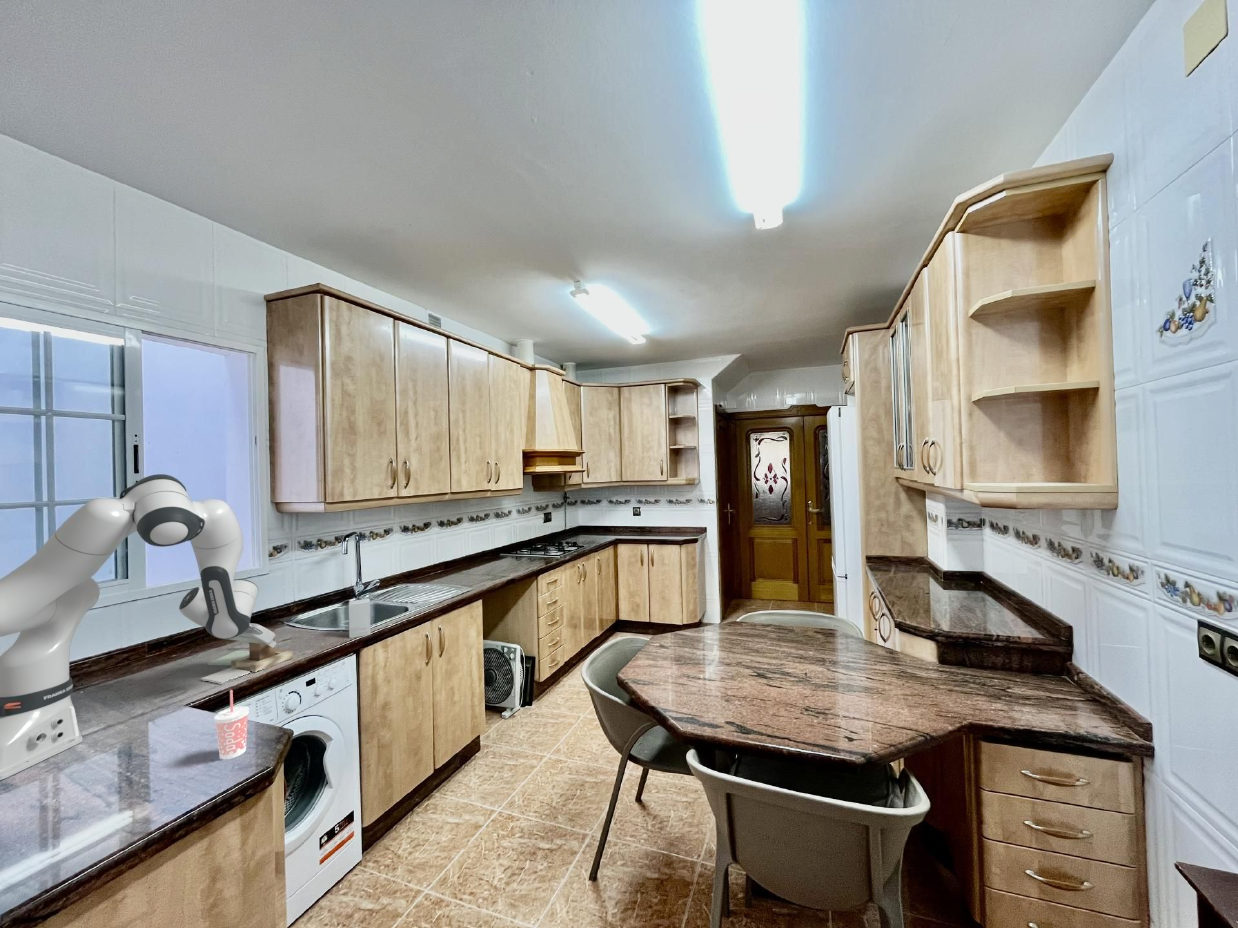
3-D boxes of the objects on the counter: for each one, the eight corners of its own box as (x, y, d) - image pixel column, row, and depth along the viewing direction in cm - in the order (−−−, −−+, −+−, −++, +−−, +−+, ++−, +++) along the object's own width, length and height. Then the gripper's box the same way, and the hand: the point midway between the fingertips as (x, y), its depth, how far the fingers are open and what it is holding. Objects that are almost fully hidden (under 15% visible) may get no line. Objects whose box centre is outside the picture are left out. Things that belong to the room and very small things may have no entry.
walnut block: (259, 667, 158) (258, 633, 158) (249, 665, 160) (248, 632, 160) (275, 661, 163) (274, 628, 163) (265, 660, 165) (264, 627, 165)
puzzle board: (223, 685, 145) (223, 676, 145) (198, 680, 149) (198, 672, 149) (293, 658, 165) (292, 651, 165) (269, 655, 169) (269, 647, 169)
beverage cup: (209, 763, 104) (207, 698, 104) (223, 748, 110) (221, 686, 110) (242, 758, 106) (240, 693, 106) (255, 743, 112) (253, 682, 112)
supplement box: (370, 634, 187) (369, 601, 187) (348, 638, 184) (347, 605, 184) (370, 629, 194) (369, 597, 194) (349, 633, 190) (348, 600, 190)
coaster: (237, 665, 161) (237, 662, 161) (207, 665, 162) (207, 662, 162) (265, 652, 172) (265, 650, 172) (237, 652, 173) (237, 650, 173)
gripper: (260, 616, 151) (292, 637, 160) (218, 612, 159) (251, 632, 168) (245, 635, 147) (278, 656, 156) (203, 630, 154) (237, 650, 163)
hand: (264, 644), depth 162 cm, fingers open, 8 cm apart
